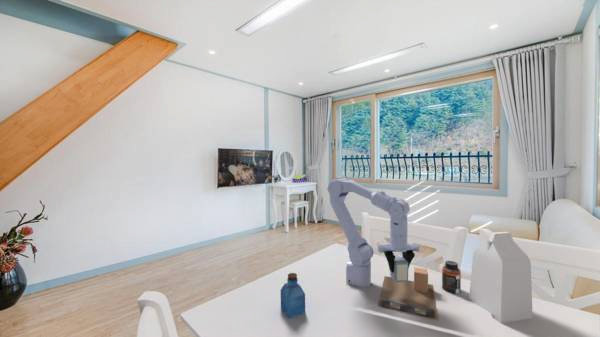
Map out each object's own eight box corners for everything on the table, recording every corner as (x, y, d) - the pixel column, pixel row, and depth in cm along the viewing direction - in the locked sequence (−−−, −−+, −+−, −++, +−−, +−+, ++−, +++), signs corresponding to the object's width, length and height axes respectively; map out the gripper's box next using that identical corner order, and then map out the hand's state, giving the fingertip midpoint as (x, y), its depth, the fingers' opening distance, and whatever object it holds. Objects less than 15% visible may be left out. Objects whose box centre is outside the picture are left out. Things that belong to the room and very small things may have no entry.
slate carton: (390, 275, 91) (390, 257, 91) (402, 275, 92) (402, 257, 91) (395, 282, 87) (396, 263, 86) (408, 282, 87) (408, 262, 86)
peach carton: (414, 290, 93) (414, 272, 92) (414, 284, 97) (414, 267, 97) (428, 293, 91) (428, 274, 91) (427, 287, 95) (427, 269, 95)
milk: (497, 297, 89) (499, 226, 88) (532, 318, 78) (535, 236, 77) (468, 301, 87) (470, 228, 86) (500, 323, 76) (502, 239, 74)
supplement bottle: (463, 297, 90) (463, 266, 89) (445, 295, 91) (445, 265, 90) (456, 288, 95) (456, 259, 95) (439, 287, 97) (440, 258, 96)
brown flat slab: (377, 308, 83) (377, 300, 83) (384, 278, 104) (384, 271, 104) (438, 323, 76) (438, 313, 76) (432, 287, 97) (433, 279, 96)
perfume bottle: (288, 317, 79) (287, 281, 79) (280, 307, 85) (280, 273, 84) (305, 312, 82) (304, 276, 82) (296, 302, 88) (296, 269, 87)
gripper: (383, 238, 84) (383, 277, 85) (424, 236, 85) (424, 275, 86) (375, 232, 91) (375, 267, 92) (413, 230, 92) (413, 266, 93)
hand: (398, 271), depth 89 cm, fingers closed on slate carton, 4 cm apart
